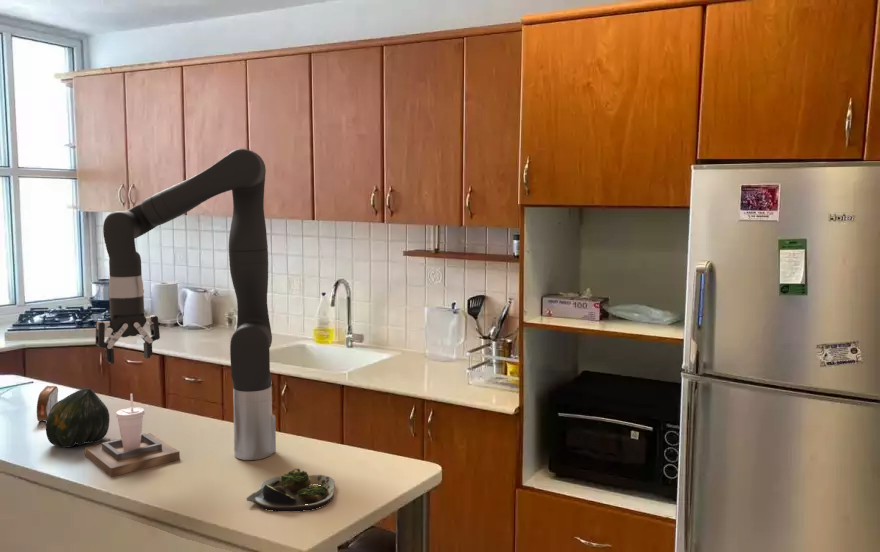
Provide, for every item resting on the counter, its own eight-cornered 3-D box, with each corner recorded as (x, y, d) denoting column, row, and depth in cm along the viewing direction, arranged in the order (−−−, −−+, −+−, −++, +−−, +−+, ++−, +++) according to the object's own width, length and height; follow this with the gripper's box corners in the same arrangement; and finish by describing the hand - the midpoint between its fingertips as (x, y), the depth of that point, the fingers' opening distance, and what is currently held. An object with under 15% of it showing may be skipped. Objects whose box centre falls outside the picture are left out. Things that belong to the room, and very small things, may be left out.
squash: (24, 426, 175) (53, 386, 171) (72, 411, 189) (101, 374, 185) (56, 468, 172) (87, 428, 168) (103, 450, 187) (132, 413, 183)
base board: (150, 440, 182) (149, 427, 181) (179, 459, 169) (179, 445, 168) (85, 455, 170) (84, 441, 170) (111, 476, 158) (110, 462, 157)
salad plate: (262, 476, 160) (261, 457, 159) (339, 475, 161) (339, 456, 160) (242, 514, 141) (242, 492, 140) (330, 513, 142) (330, 491, 141)
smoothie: (135, 455, 166) (132, 398, 164) (111, 453, 167) (108, 396, 165) (151, 445, 172) (149, 390, 170) (128, 443, 173) (126, 389, 172)
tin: (48, 409, 207) (47, 382, 206) (60, 409, 208) (59, 381, 207) (35, 425, 192) (34, 396, 192) (48, 424, 193) (47, 395, 192)
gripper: (150, 290, 173) (152, 353, 175) (89, 295, 163) (92, 362, 165) (162, 293, 168) (164, 358, 170) (100, 299, 158) (103, 368, 160)
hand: (129, 360), depth 167 cm, fingers open, 8 cm apart
